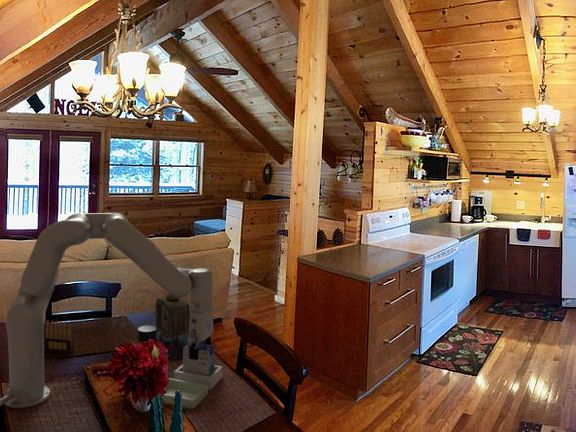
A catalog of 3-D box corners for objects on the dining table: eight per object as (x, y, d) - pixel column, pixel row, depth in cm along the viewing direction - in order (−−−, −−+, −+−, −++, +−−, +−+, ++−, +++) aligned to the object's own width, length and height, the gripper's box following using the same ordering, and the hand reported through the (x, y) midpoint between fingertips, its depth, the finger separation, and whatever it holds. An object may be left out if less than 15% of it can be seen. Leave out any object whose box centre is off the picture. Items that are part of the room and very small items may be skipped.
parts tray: (193, 409, 148) (193, 400, 147) (151, 401, 151) (151, 392, 151) (207, 394, 158) (208, 385, 157) (168, 386, 161) (168, 377, 161)
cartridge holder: (210, 389, 161) (211, 378, 160) (173, 382, 164) (173, 371, 164) (222, 377, 170) (222, 366, 169) (187, 370, 173) (187, 360, 173)
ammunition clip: (44, 350, 184) (43, 320, 183) (47, 348, 186) (46, 318, 184) (70, 353, 183) (70, 322, 181) (73, 351, 185) (73, 321, 183)
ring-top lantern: (155, 337, 202) (156, 279, 199) (175, 333, 208) (176, 276, 205) (169, 349, 191) (170, 287, 188) (190, 345, 196) (192, 285, 193)
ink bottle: (133, 355, 184) (133, 325, 182) (156, 352, 187) (157, 322, 186) (136, 366, 175) (136, 334, 173) (161, 363, 179) (161, 331, 177)
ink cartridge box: (214, 378, 169) (216, 338, 167) (209, 385, 163) (210, 344, 161) (188, 374, 171) (189, 335, 169) (181, 381, 165) (182, 340, 163)
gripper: (199, 314, 154) (198, 365, 157) (221, 299, 171) (220, 345, 173) (178, 311, 156) (177, 362, 159) (201, 296, 173) (201, 342, 175)
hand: (200, 353), depth 166 cm, fingers open, 9 cm apart
